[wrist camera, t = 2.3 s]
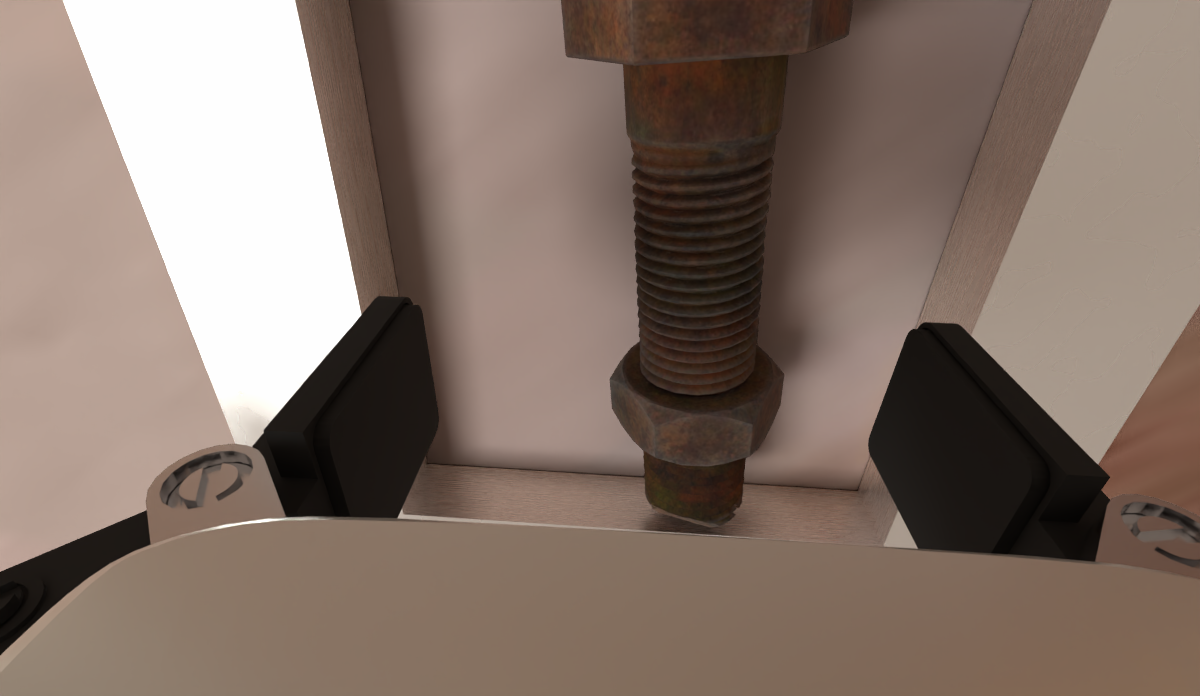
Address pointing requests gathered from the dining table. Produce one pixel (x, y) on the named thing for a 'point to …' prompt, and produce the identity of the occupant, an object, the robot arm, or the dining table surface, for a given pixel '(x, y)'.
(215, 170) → the plate
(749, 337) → the bolt
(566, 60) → the dining table surface
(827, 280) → the dining table surface
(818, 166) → the dining table surface
